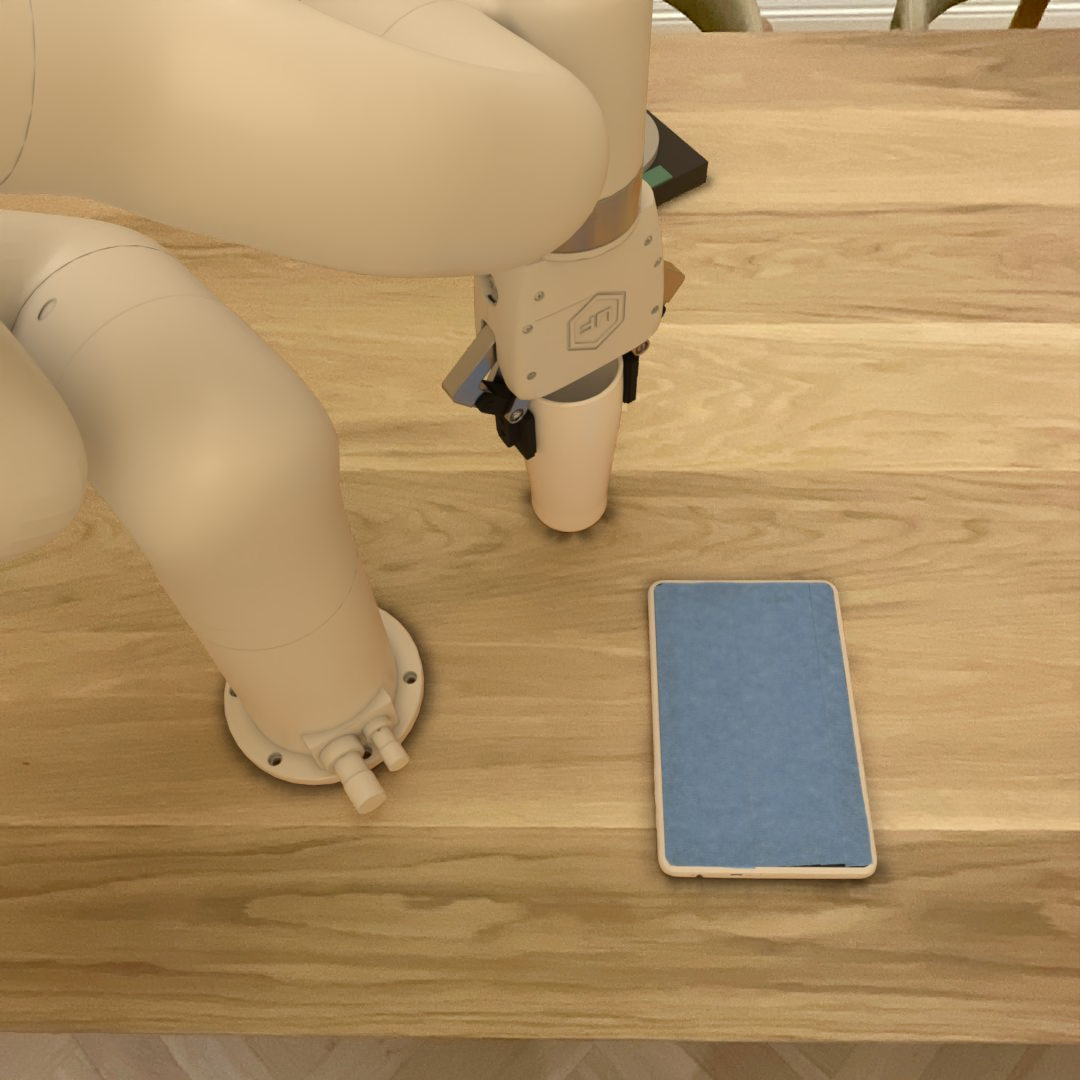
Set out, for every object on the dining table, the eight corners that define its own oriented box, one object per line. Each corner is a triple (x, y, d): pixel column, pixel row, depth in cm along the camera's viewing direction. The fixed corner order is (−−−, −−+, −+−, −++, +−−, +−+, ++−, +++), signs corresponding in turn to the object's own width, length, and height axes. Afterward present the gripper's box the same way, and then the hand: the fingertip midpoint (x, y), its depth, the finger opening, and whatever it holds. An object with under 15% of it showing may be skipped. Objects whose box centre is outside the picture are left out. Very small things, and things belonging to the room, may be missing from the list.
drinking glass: (634, 490, 76) (645, 346, 63) (585, 560, 73) (586, 424, 60) (554, 451, 78) (549, 304, 65) (503, 517, 75) (487, 377, 62)
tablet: (877, 881, 61) (882, 875, 60) (656, 878, 62) (658, 872, 60) (834, 587, 71) (838, 577, 70) (645, 587, 72) (646, 577, 71)
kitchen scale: (706, 182, 93) (709, 153, 91) (574, 248, 89) (574, 220, 87) (612, 100, 99) (613, 71, 97) (485, 159, 96) (482, 130, 93)
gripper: (453, 307, 48) (483, 523, 63) (752, 157, 53) (714, 391, 68) (372, 214, 51) (419, 440, 67) (660, 81, 56) (643, 320, 71)
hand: (568, 414), depth 67 cm, fingers closed on drinking glass, 6 cm apart
